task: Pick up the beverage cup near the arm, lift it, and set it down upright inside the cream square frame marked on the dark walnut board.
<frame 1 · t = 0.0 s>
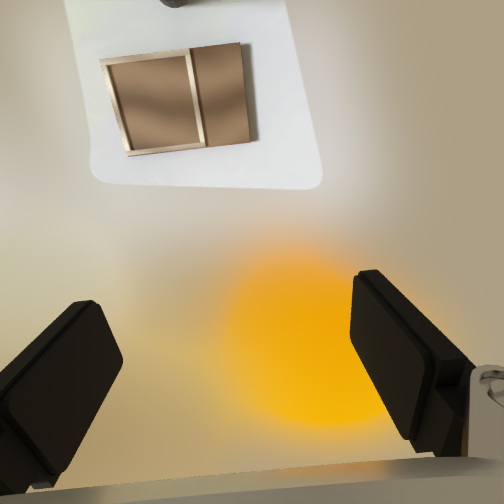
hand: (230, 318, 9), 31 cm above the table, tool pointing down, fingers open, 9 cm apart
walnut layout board: (181, 104, 33), on the table
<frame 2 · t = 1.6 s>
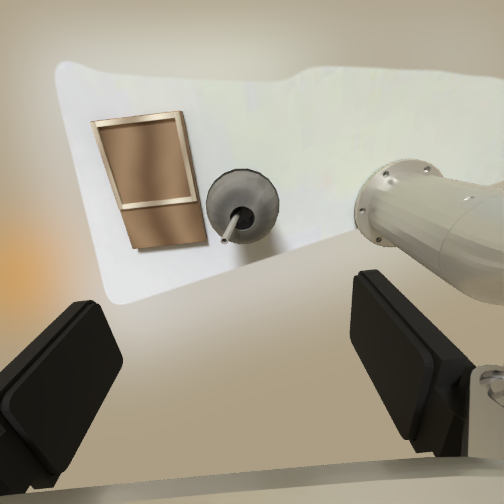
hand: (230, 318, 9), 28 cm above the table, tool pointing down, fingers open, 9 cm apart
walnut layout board: (156, 185, 35), on the table
beverage cup: (243, 186, 35), on the table
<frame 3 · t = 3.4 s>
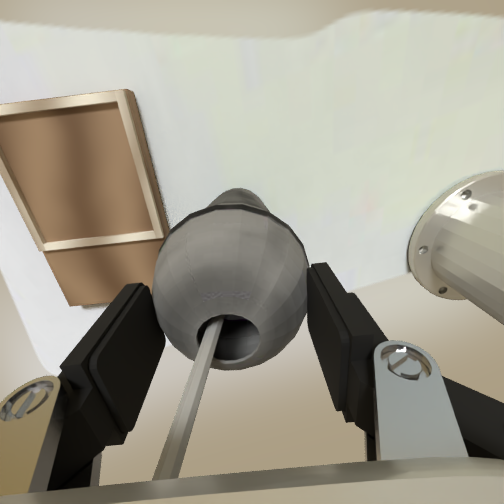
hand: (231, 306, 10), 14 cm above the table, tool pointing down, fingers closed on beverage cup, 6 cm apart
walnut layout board: (100, 212, 22), on the table
beverage cup: (238, 213, 23), on the table, touching gripper
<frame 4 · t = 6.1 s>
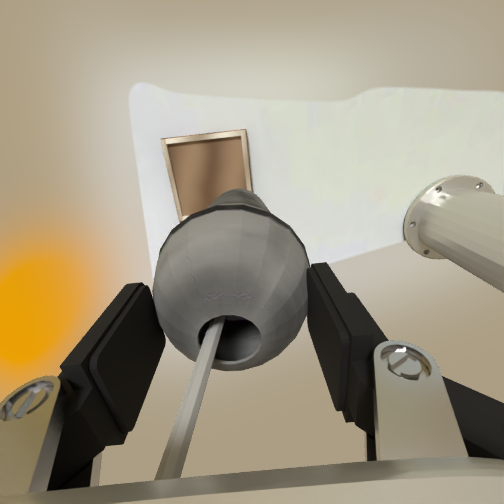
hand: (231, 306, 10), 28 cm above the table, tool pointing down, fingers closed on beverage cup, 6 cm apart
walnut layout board: (215, 198, 36), on the table
beverage cup: (239, 213, 23), point 14 cm above the table, touching gripper
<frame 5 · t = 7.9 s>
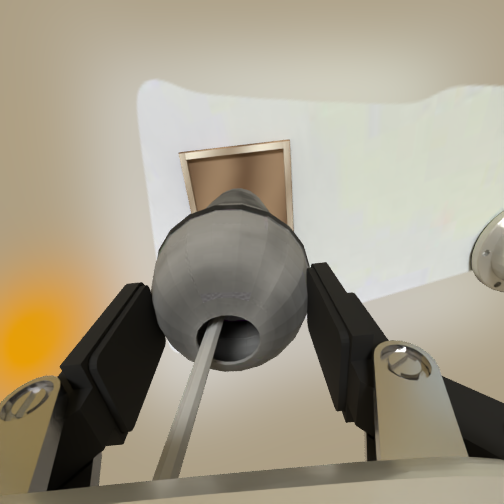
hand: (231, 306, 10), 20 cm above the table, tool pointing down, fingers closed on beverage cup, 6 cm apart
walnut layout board: (244, 224, 29), on the table
beverage cup: (238, 213, 23), point 6 cm above the table, touching gripper
when the fingers open (16 cm above the table, at t = 9.1 s): beverage cup drops 1 cm, resting on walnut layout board.
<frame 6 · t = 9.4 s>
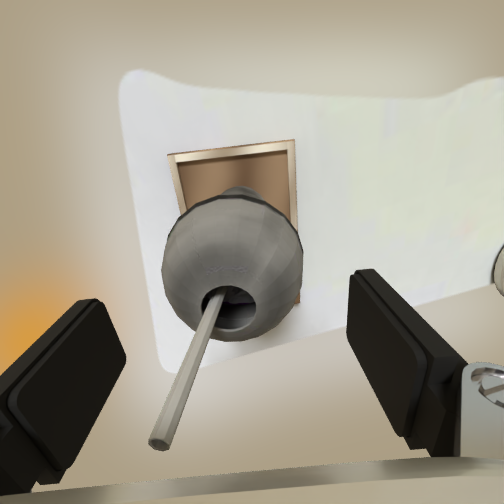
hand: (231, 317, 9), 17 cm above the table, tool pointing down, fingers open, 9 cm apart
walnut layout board: (242, 234, 26), on the table
beverage cup: (241, 209, 24), point 1 cm above the table, touching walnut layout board
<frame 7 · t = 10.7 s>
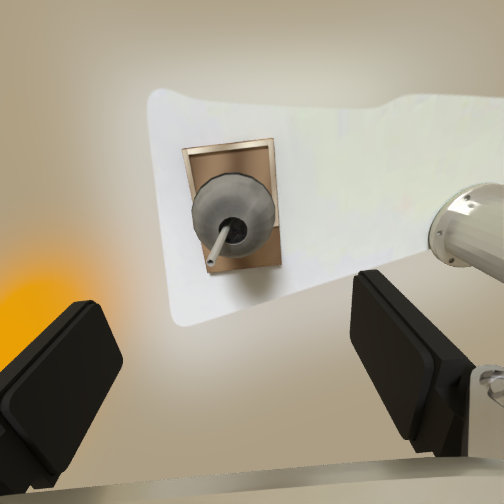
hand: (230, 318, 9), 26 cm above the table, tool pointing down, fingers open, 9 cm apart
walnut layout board: (236, 210, 34), on the table
beverage cup: (235, 190, 32), point 1 cm above the table, touching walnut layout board
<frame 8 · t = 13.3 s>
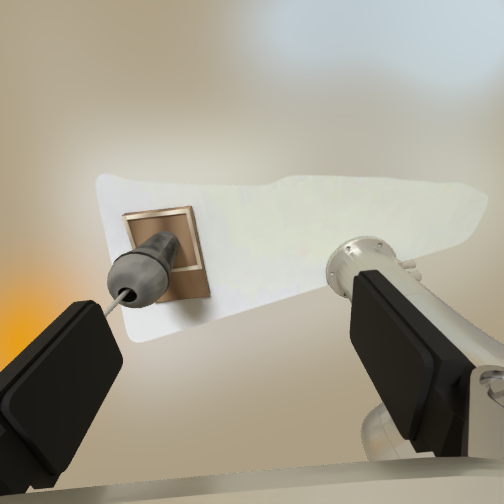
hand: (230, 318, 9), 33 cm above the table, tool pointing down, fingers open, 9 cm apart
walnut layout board: (170, 256, 45), on the table
beverage cup: (166, 242, 43), point 1 cm above the table, touching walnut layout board
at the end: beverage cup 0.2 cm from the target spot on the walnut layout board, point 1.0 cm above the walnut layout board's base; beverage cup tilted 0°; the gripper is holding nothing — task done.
